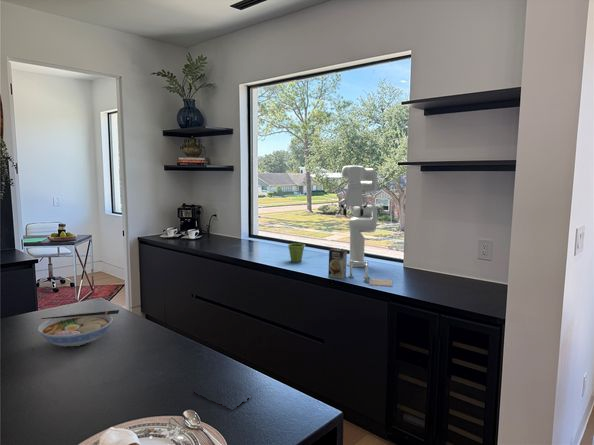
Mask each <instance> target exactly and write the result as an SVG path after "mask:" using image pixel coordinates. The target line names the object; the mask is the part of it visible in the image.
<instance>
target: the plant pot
mask: <svg viewBox="0 0 594 445" xmlns="http://www.w3.org/2000/svg"><path fill="white" fill-rule="evenodd" d="M287 246H288V251H289V257H290V261H291V262H292V263H300V262H302V259H303V254H304V253H303V252H304V249H305V247H306V244H303V243H290V244H287Z"/></svg>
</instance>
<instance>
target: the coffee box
mask: <svg viewBox="0 0 594 445" xmlns="http://www.w3.org/2000/svg"><path fill="white" fill-rule="evenodd" d="M347 258H348V250H347V249H342V248H334V247H333V248H330V249H329V250H328V273H327V274H328V278H329V277H330V278H335V279H342V280H343V279H344V278H346V277H347V262H348V259H347Z"/></svg>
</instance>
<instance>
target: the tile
mask: <svg viewBox="0 0 594 445" xmlns="http://www.w3.org/2000/svg"><path fill="white" fill-rule="evenodd" d="M368 285H369V286H374V287H375V286H376V287H377V286H379V287H389V288H392V287H393V280H392V279H381V278H369V283H368Z"/></svg>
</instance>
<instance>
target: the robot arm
mask: <svg viewBox="0 0 594 445" xmlns="http://www.w3.org/2000/svg"><path fill="white" fill-rule="evenodd" d="M341 175H342V177H343V179H345V180H347V189H346V190H345V195H344V198H343V199H341V200H339V202H338V203H339V206H340V207H341V208H342V210H343V211H342V212H343V213H342V214H343V216H344V217H347V208H348V207H353V209H352V215H353V217H352V218H350V219H349V222H348V226H349V228H348V229H349V261H347V263H346V266H349V267H350V261H358V262H365V242H366V240H365V237H364V235H363V234H362V233H371V234H372V233H375V232H376V230H377V222H378V208H377V206H376V205H374V204H369V202H368V199H367V198H366V197H365V195H363V194H376V193H377V192H378V186H379V185H378V174H377V171H376V169H375V168H366V167H364V166H362V165H344V166H343V167H342V169H341ZM343 203H344V205H343ZM365 265H366V264H363V263H353V267H355V268H363V267H364V268H365Z"/></svg>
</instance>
